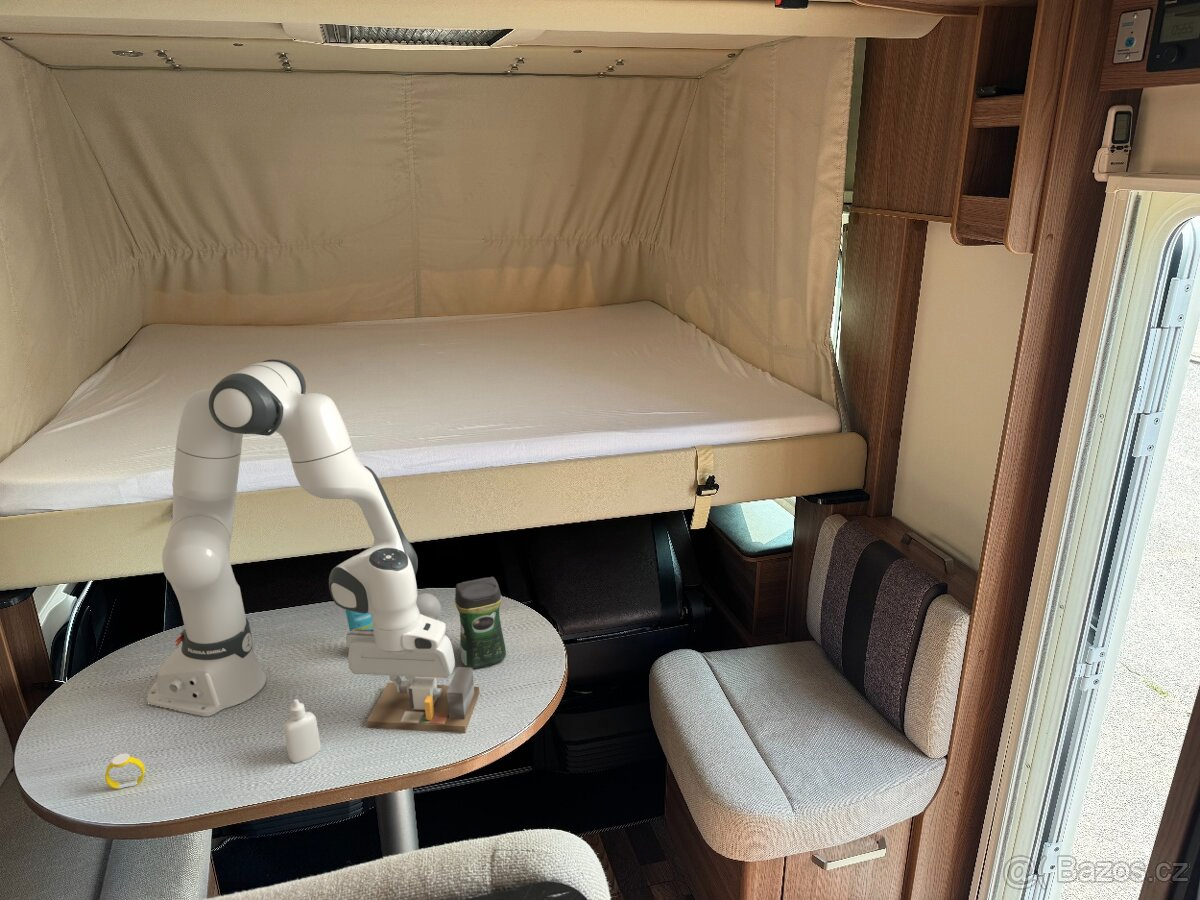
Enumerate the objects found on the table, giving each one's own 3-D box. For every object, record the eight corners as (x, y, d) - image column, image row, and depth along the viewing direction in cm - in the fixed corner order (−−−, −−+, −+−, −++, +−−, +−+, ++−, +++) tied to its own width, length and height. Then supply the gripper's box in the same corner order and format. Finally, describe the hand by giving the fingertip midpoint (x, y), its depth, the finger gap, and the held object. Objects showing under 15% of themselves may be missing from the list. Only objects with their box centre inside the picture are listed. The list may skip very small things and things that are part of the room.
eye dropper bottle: (290, 749, 158) (280, 695, 154) (321, 743, 160) (313, 690, 155) (288, 765, 154) (278, 710, 150) (320, 759, 156) (311, 705, 151)
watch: (109, 796, 148) (99, 769, 146) (112, 785, 151) (101, 758, 149) (147, 785, 150) (137, 759, 148) (149, 774, 152) (139, 748, 150)
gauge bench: (367, 727, 164) (363, 695, 161) (388, 688, 175) (384, 657, 172) (465, 732, 162) (462, 700, 159) (479, 693, 173) (477, 661, 170)
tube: (352, 663, 183) (341, 585, 176) (345, 652, 187) (334, 575, 180) (386, 651, 187) (376, 574, 180) (378, 641, 191) (368, 565, 184)
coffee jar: (500, 643, 189) (495, 569, 182) (509, 663, 182) (504, 587, 176) (457, 652, 186) (450, 577, 179) (464, 673, 179) (457, 596, 172)
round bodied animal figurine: (412, 655, 190) (408, 633, 184) (409, 611, 198) (406, 589, 193) (445, 650, 191) (442, 628, 185) (441, 607, 200) (438, 584, 194)
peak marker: (426, 719, 162) (424, 702, 161) (429, 712, 164) (427, 695, 163) (431, 720, 162) (429, 702, 161) (434, 713, 164) (432, 695, 163)
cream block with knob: (405, 720, 163) (403, 698, 161) (418, 694, 170) (415, 673, 168) (434, 722, 162) (432, 700, 160) (445, 695, 169) (443, 674, 168)
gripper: (338, 638, 160) (347, 699, 165) (445, 642, 158) (451, 703, 163) (350, 619, 166) (359, 679, 171) (453, 623, 164) (459, 683, 169)
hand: (405, 691), depth 167 cm, fingers closed
